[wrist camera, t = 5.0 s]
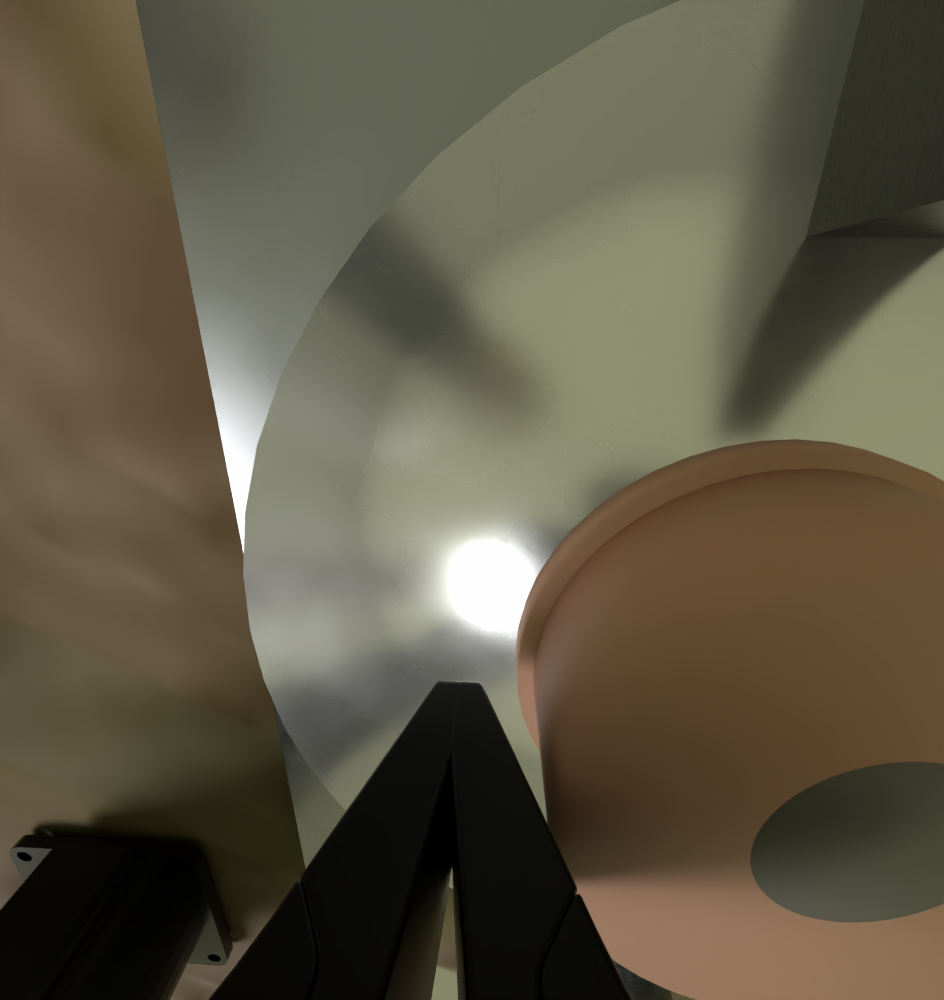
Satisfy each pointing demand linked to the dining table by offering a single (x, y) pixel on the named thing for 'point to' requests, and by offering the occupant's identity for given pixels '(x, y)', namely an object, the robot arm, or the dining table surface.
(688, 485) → the cover
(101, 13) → the dining table surface
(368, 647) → the turntable
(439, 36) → the base plate
